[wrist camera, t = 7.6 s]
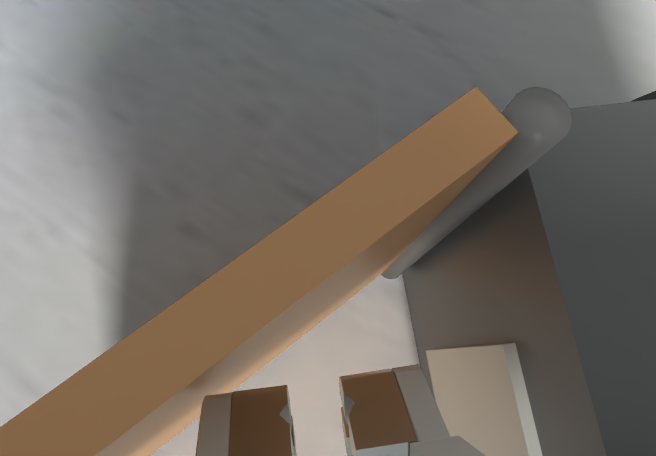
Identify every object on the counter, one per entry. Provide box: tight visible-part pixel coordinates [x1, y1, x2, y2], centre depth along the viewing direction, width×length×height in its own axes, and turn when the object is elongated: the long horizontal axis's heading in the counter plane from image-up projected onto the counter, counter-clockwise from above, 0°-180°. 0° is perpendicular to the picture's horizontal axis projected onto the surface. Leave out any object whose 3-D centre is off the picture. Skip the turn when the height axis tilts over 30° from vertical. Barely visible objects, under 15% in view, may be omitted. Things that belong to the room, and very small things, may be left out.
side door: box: [0, 87, 572, 456], centre depth 13 cm, size 2×14×13 cm, turn 128°
